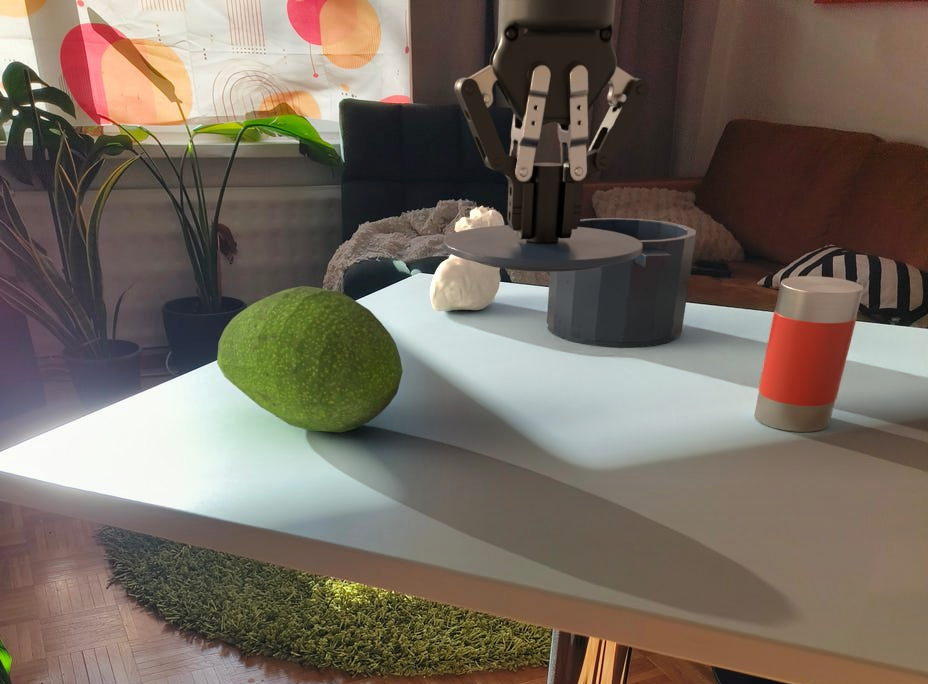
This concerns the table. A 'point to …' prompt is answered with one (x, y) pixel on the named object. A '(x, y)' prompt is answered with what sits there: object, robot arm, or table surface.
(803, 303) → the can
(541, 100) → the robot arm
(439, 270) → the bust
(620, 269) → the pot
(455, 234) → the lid
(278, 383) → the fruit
